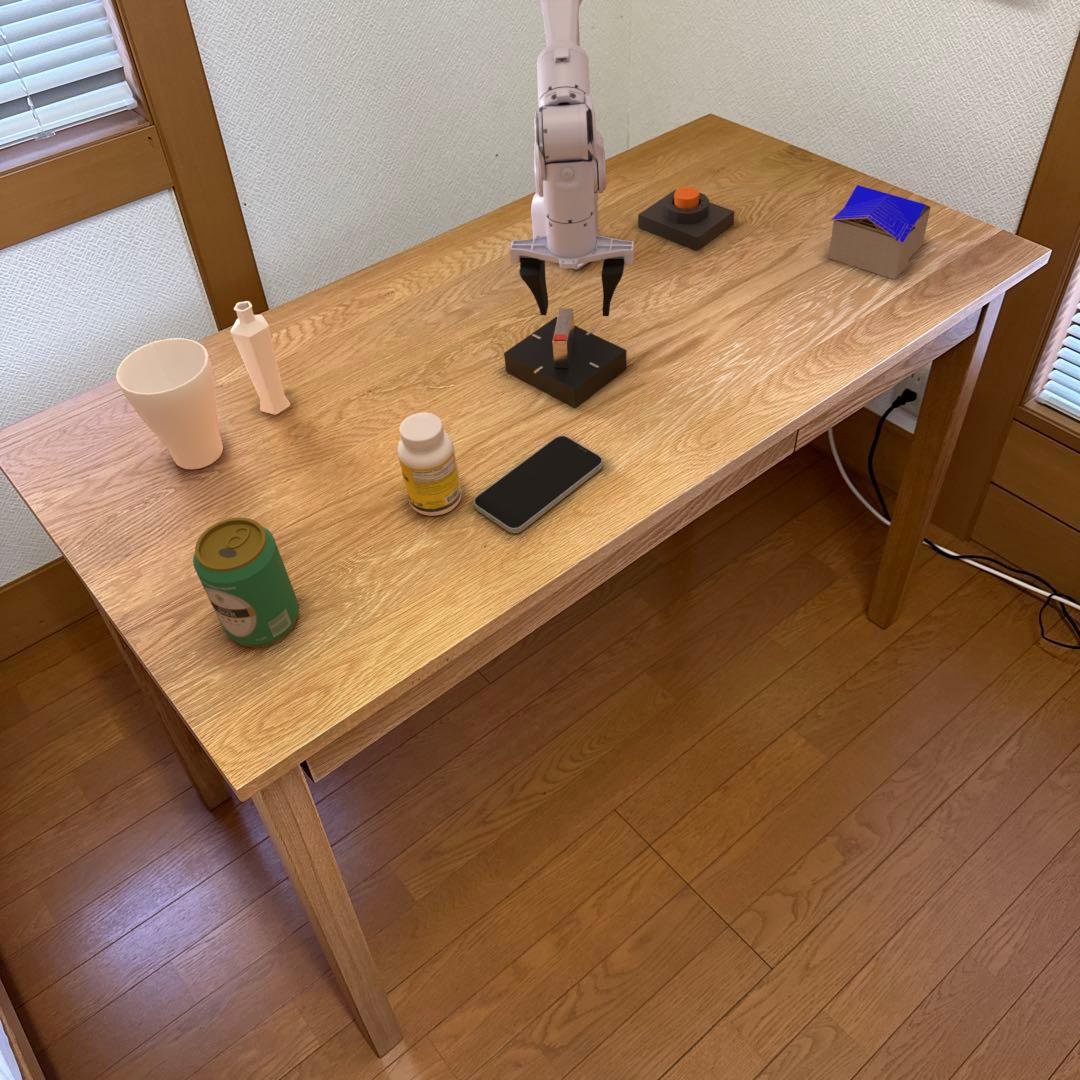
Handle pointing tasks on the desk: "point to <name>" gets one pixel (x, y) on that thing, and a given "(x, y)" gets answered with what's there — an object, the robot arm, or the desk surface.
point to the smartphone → (538, 484)
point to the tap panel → (587, 366)
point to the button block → (686, 221)
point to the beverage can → (246, 582)
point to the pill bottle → (428, 465)
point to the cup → (175, 398)
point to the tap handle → (563, 338)
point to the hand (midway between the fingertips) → (575, 311)
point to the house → (878, 231)
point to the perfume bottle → (259, 357)
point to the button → (686, 198)
